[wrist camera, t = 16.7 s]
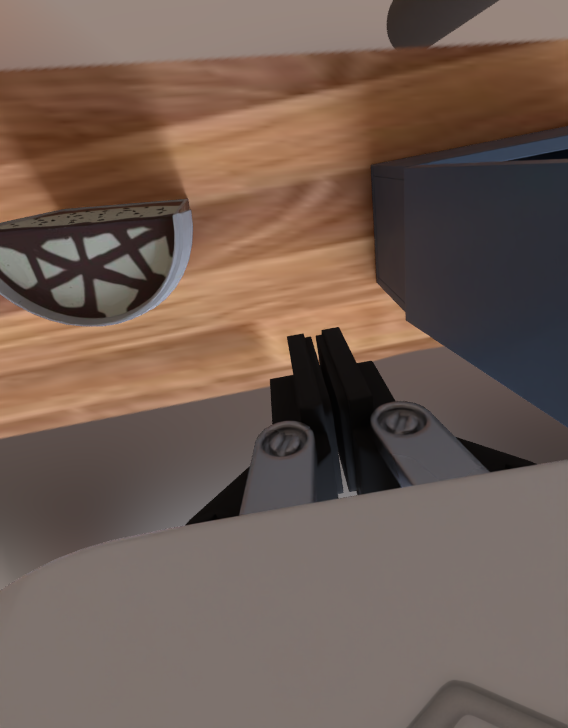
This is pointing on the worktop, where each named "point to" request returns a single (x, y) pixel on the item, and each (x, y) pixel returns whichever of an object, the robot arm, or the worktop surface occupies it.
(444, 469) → the robot arm
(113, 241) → the food container
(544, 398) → the lid
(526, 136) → the chest
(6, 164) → the worktop surface
